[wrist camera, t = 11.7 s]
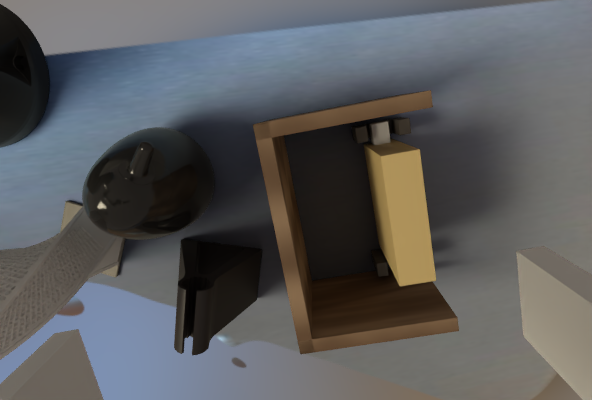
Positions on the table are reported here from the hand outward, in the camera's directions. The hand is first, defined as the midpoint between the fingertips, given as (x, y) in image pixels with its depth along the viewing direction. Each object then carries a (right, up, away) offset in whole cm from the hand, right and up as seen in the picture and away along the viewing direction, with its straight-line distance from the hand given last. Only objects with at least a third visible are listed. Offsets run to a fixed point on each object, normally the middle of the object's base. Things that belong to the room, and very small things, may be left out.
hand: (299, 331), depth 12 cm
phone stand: (-9, -4, +34) cm, 36 cm away
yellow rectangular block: (+9, +5, +32) cm, 33 cm away
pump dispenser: (-13, +7, +32) cm, 35 cm away
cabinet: (+5, +4, +32) cm, 33 cm away
